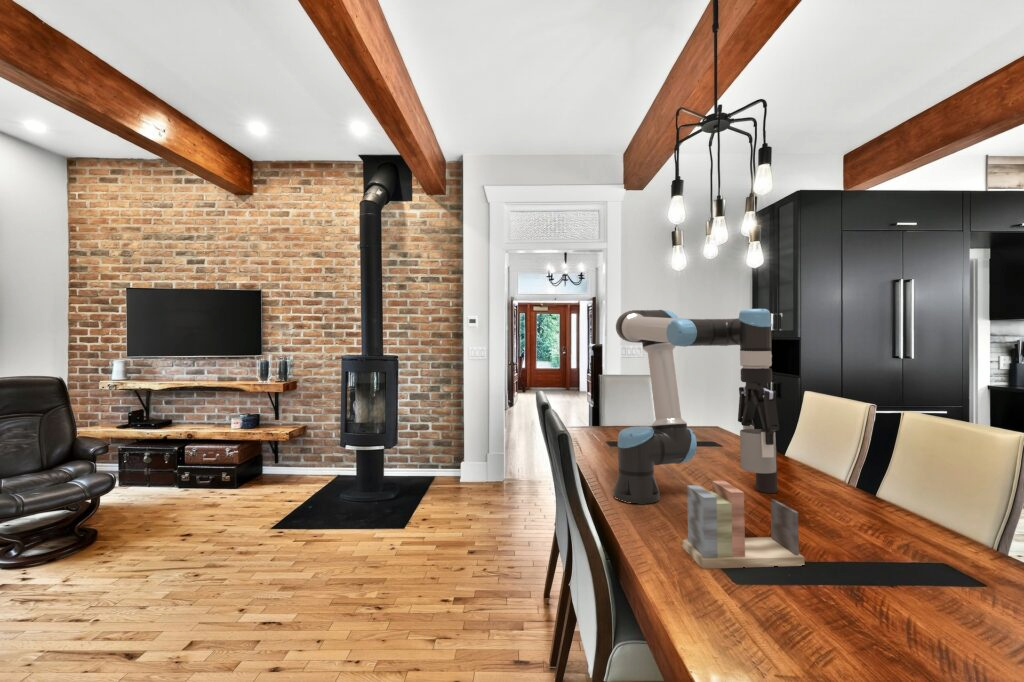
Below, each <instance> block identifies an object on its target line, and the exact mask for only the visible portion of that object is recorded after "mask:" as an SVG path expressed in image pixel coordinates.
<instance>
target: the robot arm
mask: <svg viewBox="0 0 1024 682" xmlns="http://www.w3.org/2000/svg"><path fill="white" fill-rule="evenodd" d="M615 331H616V333H617V336H618V337H619V338H621V339H622V340H623V341H625V342H628V343H638V344H639V343H641V345H642V350H643V351H644V352H646V353H647V358H648V359H647V360H648V365H649V366H648V367H649V375H650V383H651V391H652V400H653V407H654V417H655V420H654V422H653V423H652V424H651V426H649V425H647V426H646V425H639V426H638V425H637V426H636V425H635V426H630V427H626V428H624V429H623V428H622V429H621V430H620V431H619V433H618V435H617V454H618V455H617V460H618V462H617V463H618V466H617V467H618V475H617V478H616V480H615V484H614V487H613V497H614V496H615V497H616V498H618V499H620V500H623V501H626V502H631V503H639V504H638V505H647V504H646V503H652V504H654V503H653V502H656V501H658V500H659V499H660V500H661V495H660V490H659V486H658V483H657V480H656V478H655V466H662V465H675V464H676V465H680V464H682V463H688V462H689V461H692V459H693V458H694V456H695V455H696V452H697V449H698V448H697V442H698V441H697V437H696V434H695V432H694V431H693V430H692V429H691V428H688V423H687V422H686V421H685V420H684V419H682V413H681V404H680V397H679V396H680V395H679V389H678V383H677V381H678V380H677V375H676V367H675V366H676V365H675V360H674V349H675V348H676V347H683V348H684V347H685V348H686V347H695V346H697V347H701V346H702V347H705V346H707V347H709V346H710V347H711V346H713V347H715V346H720V347H723V346H724V347H727V346H740V348H739V362H740V363H739V365H740V366H741V367H742V368H741V369H740V381H741V382H742V383H745V386H740V387H739V388H738V393H739V399H738V413H737V414H738V415H737V421H738V423H740V425H741V426H742V430H743V429H755V423H754V422H753V421H754V418H755V414H756V413H755V412H756V409H757V410H758V414H759V419H760V422H761V428H762V430H761V445H762V457H763V458H764V457H774V448H773V443H774V441H773V440H774V439H773V433H774V432H775V433H776V431H779V430H780V424H779V416H778V415H779V414H778V408H777V407H778V406H777V391H776V390H770V389H769V385H768V384H769V383H772V382H773V369H772V368H771V367H772V364H773V361H772V360H773V359H772V358H773V354H772V319H771V312H770V310H769V309H767V308H748V309H747V308H746V309H742V310H740V311H739V316H738V318H679V317H678V315H677V314H676V313H674V312H673V311H670V310H665V309H650V310H649V309H647V310H646V309H643V310H642V309H641V310H639V309H632V310H628V311H625V312H623V313H622V314H621V315H619V317H618V318H617V320H616V323H615ZM660 500H659V501H660ZM659 501H658V502H659ZM656 503H657V502H656Z"/></svg>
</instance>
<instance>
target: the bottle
mask: <svg viewBox="0 0 1024 682" xmlns="http://www.w3.org/2000/svg"><path fill="white" fill-rule="evenodd" d="M755 490H756V491H757V490H758V491H757V492H759V491H760V492H761V493H763V492H764V493H763V494H777V492H778V449H777V447H776V472H774V473H755Z"/></svg>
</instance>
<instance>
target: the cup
mask: <svg viewBox="0 0 1024 682" xmlns="http://www.w3.org/2000/svg"><path fill="white" fill-rule="evenodd" d="M762 429H763V428H762ZM762 429H761V428H760V429H759V428H754V429H743V428H742V429H740V430H739V444H740V445H739V448H740V449H739V451H740V452H739V453H740V469H741V470H742V471H745V472H748V473H754V474H756V473H774V472H776V448H777V444H776V443H777V441H776V440H777V439H776V431H775V432H774V433H773V439H774V440H773V441H774V443H773V448H774V457H764V458H763V457H762V445H761V430H762Z"/></svg>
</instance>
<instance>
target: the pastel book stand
mask: <svg viewBox="0 0 1024 682" xmlns="http://www.w3.org/2000/svg"><path fill="white" fill-rule="evenodd" d="M686 495H687V502H686V503H687V505H686V506H687V507H686V508H687V509H686V510H687V539H682V549H683V550H684V551H685V552H687V553H688V555H689V556H690V557H691V558H692V559H693V560H694V562H695V563H697V565H698V566H699V567H700V568H701V569H702V570H709V569H735V568H736V569H741V568H742V569H743V567H745V568H773V567H774V566H778V567H800V566H802V565H805V556H803V554H801V553H800V550H799V549H800V548H799V512H798V511H796V510H795V509H793V508H791V507H789V506H787V505H785V504H784V503H782V502H780V501H779V500H777V499H776V498H775V499H774V498H770V525H771V526H770V529H771V530H770V531H771V536H768V537H767V536H765V537H763V536H761V537H760V536H759V537H745V531H746V530H745V528H746V527H745V525H746V524H745V492H744V491H742V490H741V489H739V488H737V487H736V486H734V485H732V484H730V483H729V482H727V481H726V480H712V489H711V490H707V489H705V488H704V487H702V486H701V485H700V484H699V485H698V484H697V485H696V484H694V485H692V484H691V485H688V484H687V485H686ZM774 568H775V567H774Z"/></svg>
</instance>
